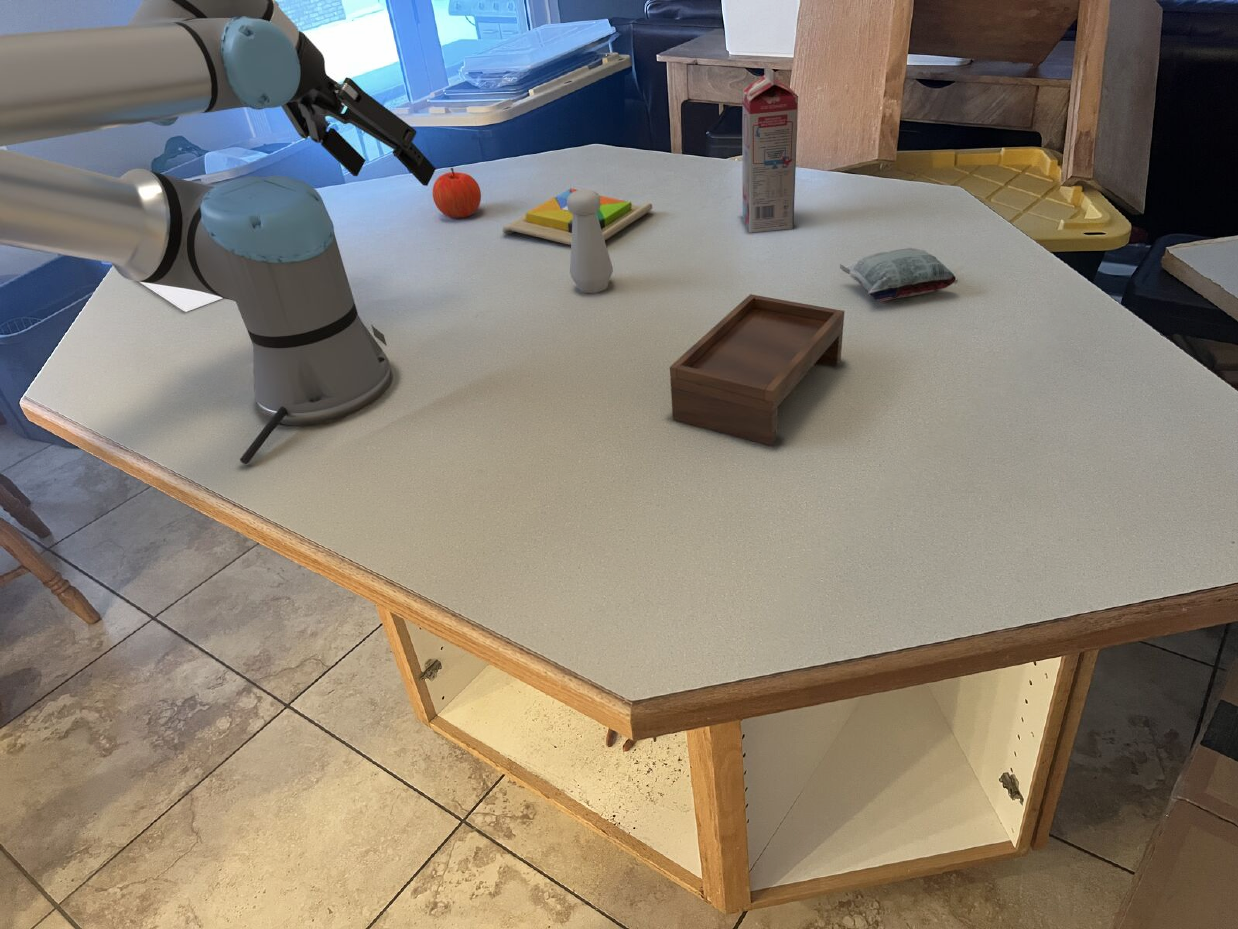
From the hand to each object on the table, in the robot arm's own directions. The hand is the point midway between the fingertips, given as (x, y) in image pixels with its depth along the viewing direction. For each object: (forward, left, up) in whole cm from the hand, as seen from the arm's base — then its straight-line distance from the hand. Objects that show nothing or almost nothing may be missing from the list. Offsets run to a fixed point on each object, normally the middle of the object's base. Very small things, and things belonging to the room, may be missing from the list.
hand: (393, 172), depth 112 cm
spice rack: (-8, -58, -15) cm, 61 cm away
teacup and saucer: (-11, +33, -15) cm, 38 cm away
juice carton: (+37, -38, -16) cm, 56 cm away
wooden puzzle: (+26, -10, -15) cm, 32 cm away
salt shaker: (+7, -26, -15) cm, 31 cm away
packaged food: (+21, -63, -16) cm, 69 cm away
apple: (+23, +13, -15) cm, 31 cm away
